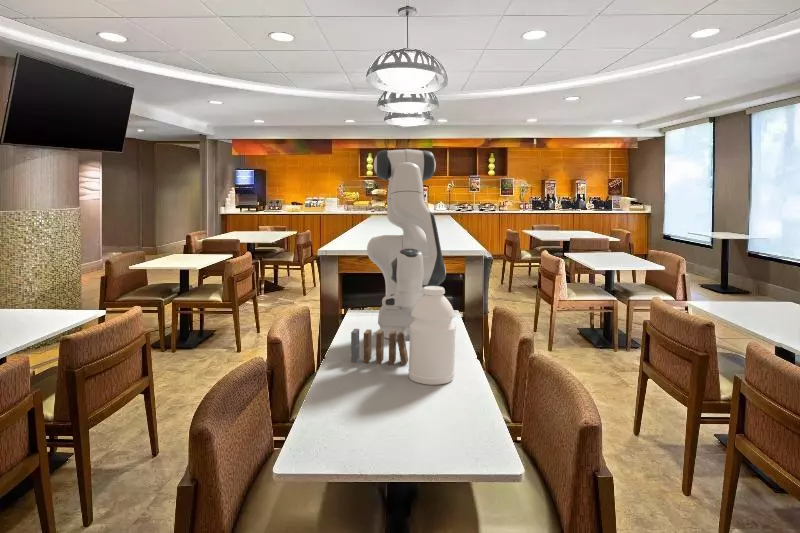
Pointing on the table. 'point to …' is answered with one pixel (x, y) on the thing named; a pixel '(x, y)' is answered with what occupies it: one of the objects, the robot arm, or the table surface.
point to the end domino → (354, 345)
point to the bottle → (432, 338)
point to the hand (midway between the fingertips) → (408, 340)
